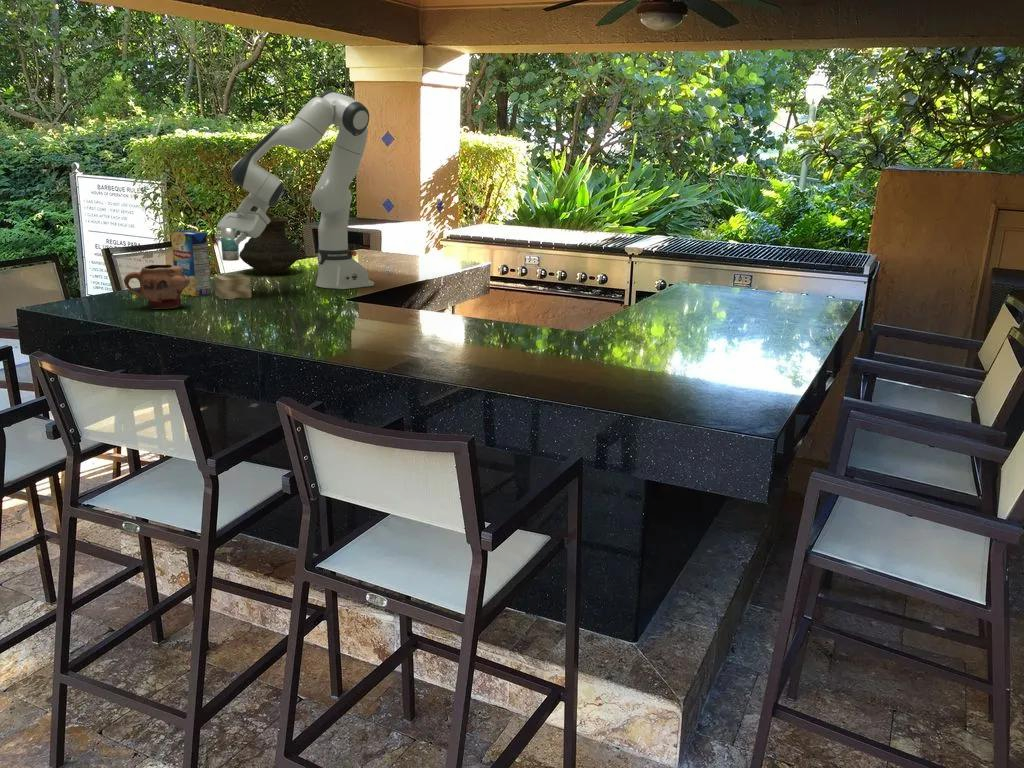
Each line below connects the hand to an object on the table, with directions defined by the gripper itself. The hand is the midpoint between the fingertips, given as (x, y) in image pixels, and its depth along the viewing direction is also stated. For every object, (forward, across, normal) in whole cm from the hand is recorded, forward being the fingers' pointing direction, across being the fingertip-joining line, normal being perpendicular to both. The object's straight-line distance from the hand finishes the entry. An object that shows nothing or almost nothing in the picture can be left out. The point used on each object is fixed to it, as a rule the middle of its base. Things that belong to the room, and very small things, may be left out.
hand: (228, 242), depth 300 cm
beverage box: (+18, -14, +10) cm, 25 cm away
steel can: (+4, 0, +5) cm, 6 cm away
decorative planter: (+34, 0, -6) cm, 34 cm away
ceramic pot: (-18, -33, +45) cm, 59 cm away
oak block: (+13, 0, +14) cm, 19 cm away
